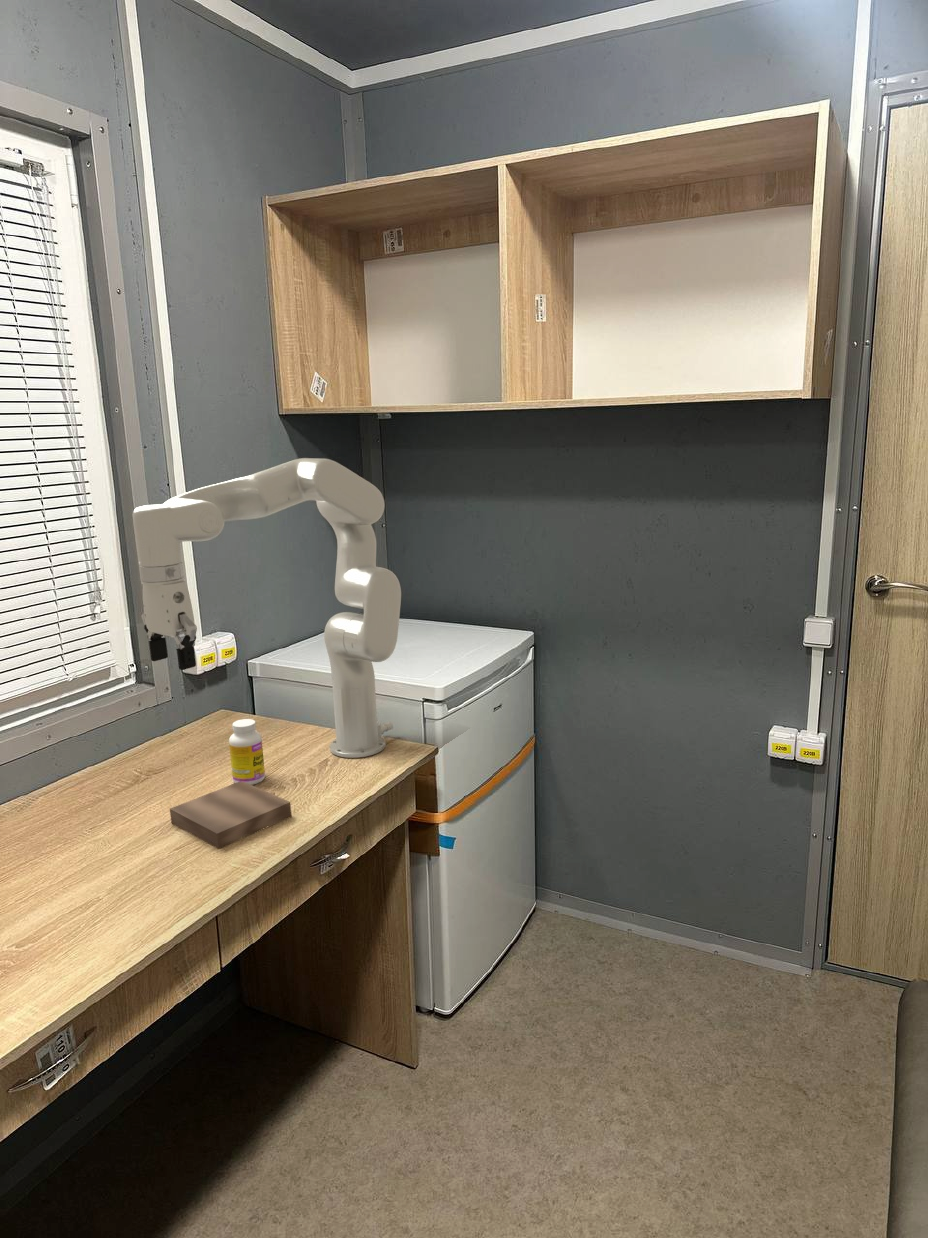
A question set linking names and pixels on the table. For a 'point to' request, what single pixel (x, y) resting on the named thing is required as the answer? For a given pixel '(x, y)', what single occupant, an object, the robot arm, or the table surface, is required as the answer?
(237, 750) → the supplement bottle
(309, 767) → the table surface
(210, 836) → the block
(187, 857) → the table surface
